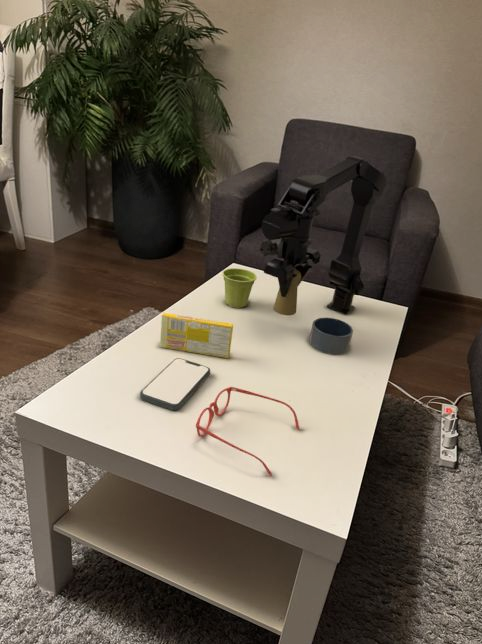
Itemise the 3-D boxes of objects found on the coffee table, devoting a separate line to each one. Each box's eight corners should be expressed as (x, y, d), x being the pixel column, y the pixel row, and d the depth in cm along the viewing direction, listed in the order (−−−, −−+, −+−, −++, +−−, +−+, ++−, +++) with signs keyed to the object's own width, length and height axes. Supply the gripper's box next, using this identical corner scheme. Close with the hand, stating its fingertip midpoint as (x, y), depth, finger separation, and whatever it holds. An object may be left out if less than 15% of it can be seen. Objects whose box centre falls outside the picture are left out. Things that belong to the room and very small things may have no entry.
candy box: (230, 354, 125) (234, 323, 121) (228, 359, 123) (232, 327, 119) (161, 343, 125) (163, 311, 121) (159, 347, 124) (161, 315, 120)
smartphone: (177, 413, 104) (212, 374, 117) (177, 407, 103) (212, 367, 116) (137, 399, 106) (175, 362, 119) (137, 393, 105) (176, 356, 118)
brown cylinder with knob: (299, 309, 139) (307, 269, 134) (291, 317, 134) (298, 276, 129) (278, 302, 141) (285, 263, 135) (269, 310, 136) (275, 270, 131)
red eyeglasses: (227, 399, 109) (230, 379, 107) (301, 426, 105) (306, 405, 103) (185, 447, 95) (187, 425, 93) (269, 480, 91) (273, 458, 88)
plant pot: (218, 294, 153) (221, 266, 149) (251, 297, 155) (255, 269, 151) (219, 309, 145) (223, 279, 141) (254, 312, 147) (258, 282, 143)
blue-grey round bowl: (319, 330, 143) (323, 313, 140) (354, 344, 139) (359, 327, 136) (302, 344, 135) (305, 326, 132) (338, 359, 131) (343, 341, 128)
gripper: (287, 218, 138) (278, 274, 146) (248, 232, 124) (240, 294, 131) (326, 230, 134) (314, 287, 141) (290, 246, 119) (279, 309, 127)
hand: (287, 293), depth 135 cm, fingers closed on brown cylinder with knob, 4 cm apart
